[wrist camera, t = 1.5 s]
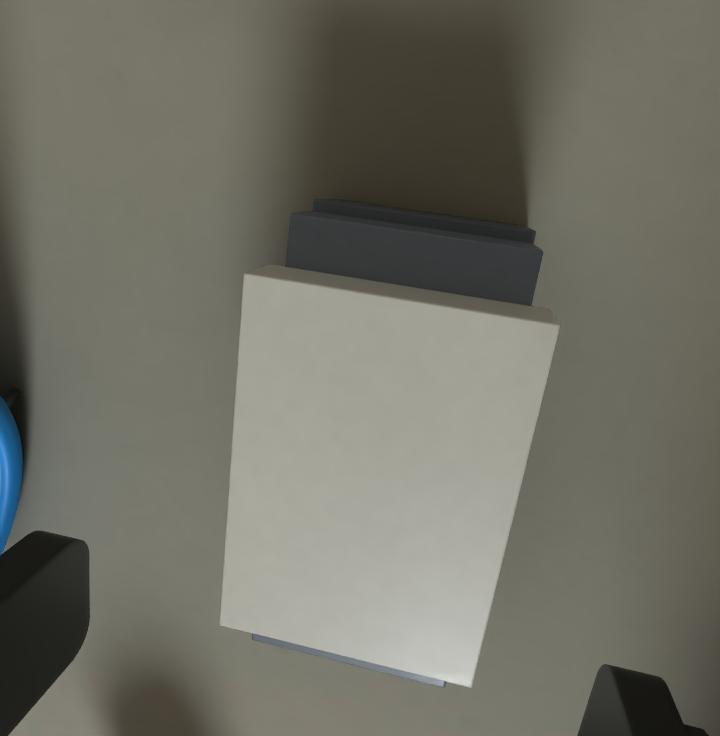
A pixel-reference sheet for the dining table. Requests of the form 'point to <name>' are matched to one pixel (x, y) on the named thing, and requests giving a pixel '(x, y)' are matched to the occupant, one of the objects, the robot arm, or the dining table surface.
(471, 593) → the white book
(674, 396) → the dining table surface
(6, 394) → the alarm clock
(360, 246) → the grey books
